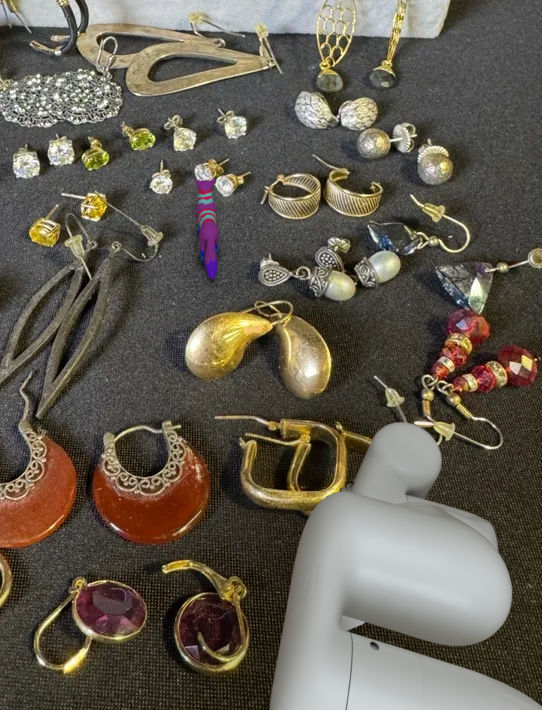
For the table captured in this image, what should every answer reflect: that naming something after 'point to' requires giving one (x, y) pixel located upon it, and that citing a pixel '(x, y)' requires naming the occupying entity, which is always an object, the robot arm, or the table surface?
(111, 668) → the table surface
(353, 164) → the table surface
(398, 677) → the robot arm
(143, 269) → the table surface
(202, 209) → the purple striped elongated piece
